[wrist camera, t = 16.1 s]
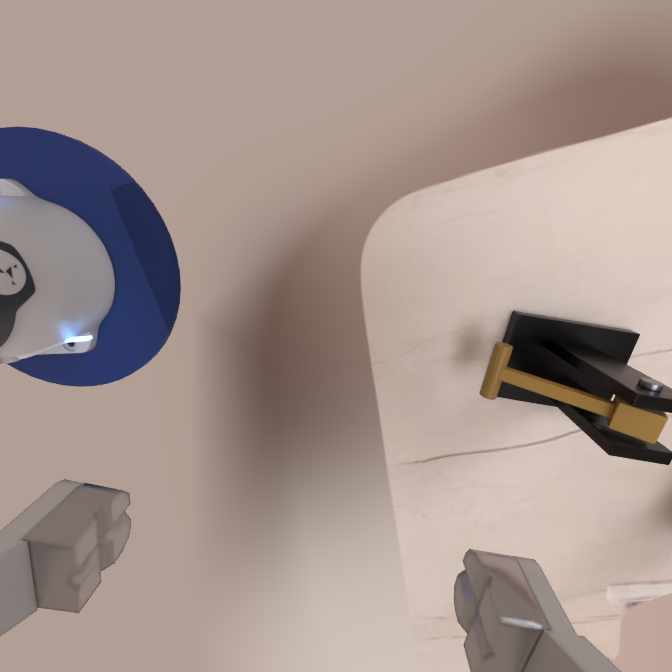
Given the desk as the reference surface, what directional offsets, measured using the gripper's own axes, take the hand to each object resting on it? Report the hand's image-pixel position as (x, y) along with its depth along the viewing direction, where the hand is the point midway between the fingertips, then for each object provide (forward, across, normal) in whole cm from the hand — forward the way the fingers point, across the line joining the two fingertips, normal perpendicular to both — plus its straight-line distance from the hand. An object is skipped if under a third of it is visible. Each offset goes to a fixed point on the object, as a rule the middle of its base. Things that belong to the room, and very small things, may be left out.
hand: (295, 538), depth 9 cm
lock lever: (+22, -20, +3) cm, 29 cm away
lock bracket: (+29, -23, +3) cm, 37 cm away
